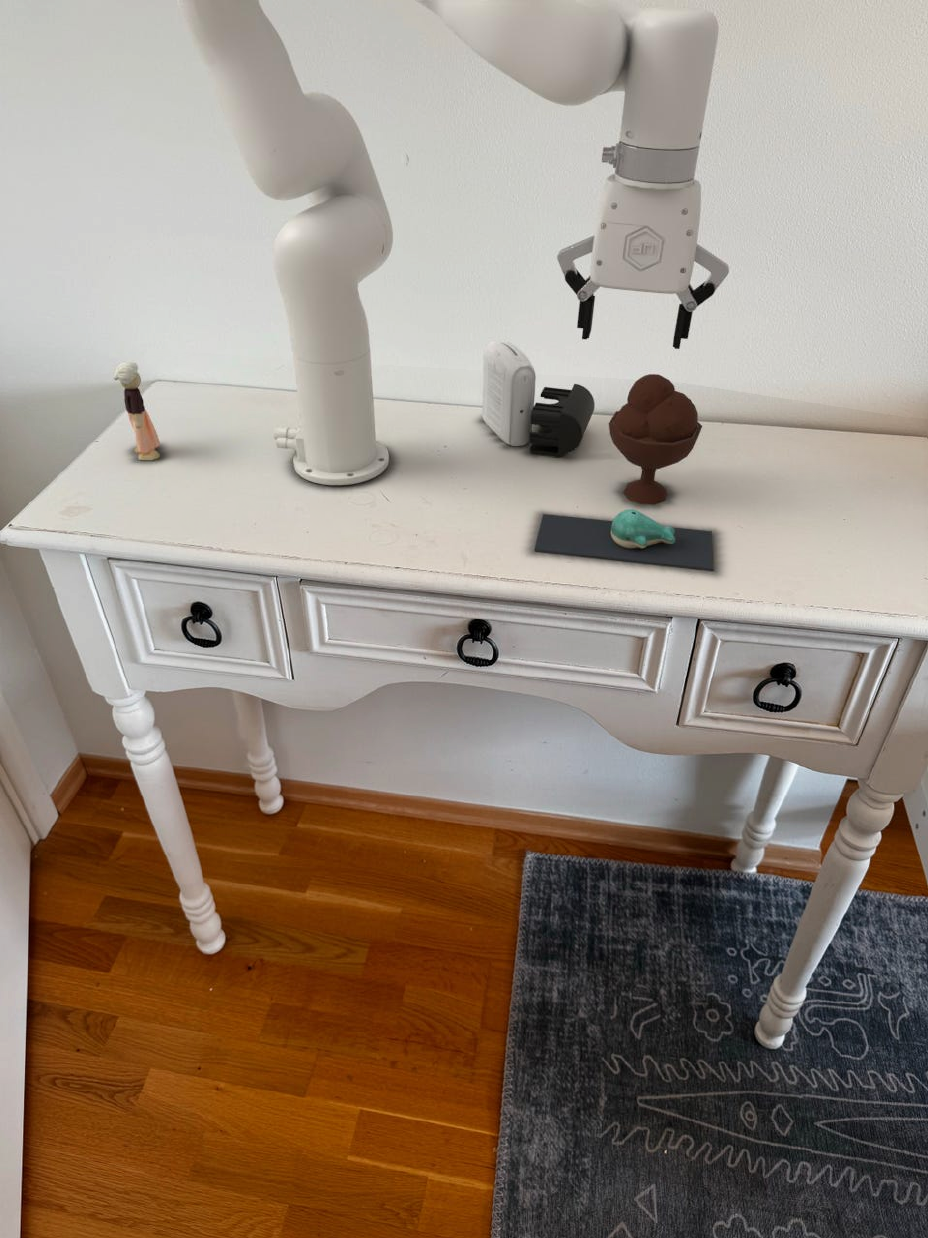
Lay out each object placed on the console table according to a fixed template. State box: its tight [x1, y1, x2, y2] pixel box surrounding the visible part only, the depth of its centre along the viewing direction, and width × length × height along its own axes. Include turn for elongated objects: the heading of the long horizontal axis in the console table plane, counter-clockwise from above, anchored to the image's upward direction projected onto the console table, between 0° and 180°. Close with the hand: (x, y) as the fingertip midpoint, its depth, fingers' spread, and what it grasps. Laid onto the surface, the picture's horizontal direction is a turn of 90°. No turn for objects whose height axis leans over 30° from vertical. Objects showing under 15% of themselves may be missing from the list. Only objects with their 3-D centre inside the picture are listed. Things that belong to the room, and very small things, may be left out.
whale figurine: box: [611, 508, 675, 548], centre depth 101 cm, size 6×7×4 cm
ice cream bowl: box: [608, 373, 703, 505], centre depth 107 cm, size 11×11×15 cm
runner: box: [533, 513, 714, 572], centre depth 103 cm, size 20×8×1 cm, turn 79°
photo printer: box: [481, 340, 537, 447], centre depth 122 cm, size 10×4×12 cm, turn 23°
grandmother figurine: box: [112, 361, 161, 461], centre depth 117 cm, size 8×4×13 cm, turn 35°
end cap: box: [528, 383, 595, 458], centre depth 121 cm, size 10×7×7 cm
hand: (631, 339), depth 95 cm, fingers open, 9 cm apart
